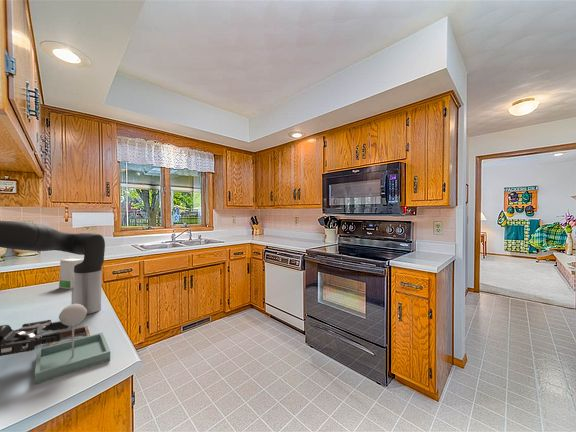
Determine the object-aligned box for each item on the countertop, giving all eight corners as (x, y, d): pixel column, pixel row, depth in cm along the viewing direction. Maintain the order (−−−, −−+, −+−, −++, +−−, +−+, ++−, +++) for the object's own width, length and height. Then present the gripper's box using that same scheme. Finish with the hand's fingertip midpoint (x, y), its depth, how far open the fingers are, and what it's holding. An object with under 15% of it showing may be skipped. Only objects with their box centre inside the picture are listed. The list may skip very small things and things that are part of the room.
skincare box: (58, 288, 136) (59, 260, 136) (70, 284, 143) (71, 258, 143) (71, 289, 135) (71, 260, 135) (83, 285, 141) (83, 258, 141)
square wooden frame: (49, 340, 81) (49, 334, 81) (87, 331, 88) (87, 325, 88) (49, 352, 74) (49, 346, 74) (90, 341, 81) (90, 335, 81)
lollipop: (84, 348, 75) (84, 299, 75) (88, 355, 72) (89, 304, 71) (56, 357, 71) (57, 304, 70) (60, 365, 67) (60, 310, 67)
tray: (37, 357, 71) (37, 349, 71) (102, 340, 82) (102, 332, 82) (34, 384, 60) (34, 374, 60) (110, 359, 71) (110, 351, 71)
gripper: (-38, 342, 56) (58, 326, 64) (-6, 318, 68) (71, 308, 76) (-39, 375, 56) (57, 355, 64) (-7, 346, 68) (70, 332, 76)
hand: (64, 329), depth 70 cm, fingers open, 8 cm apart
